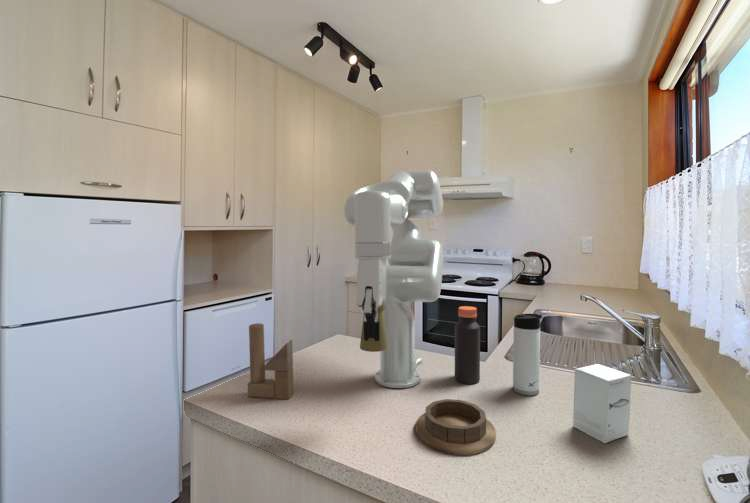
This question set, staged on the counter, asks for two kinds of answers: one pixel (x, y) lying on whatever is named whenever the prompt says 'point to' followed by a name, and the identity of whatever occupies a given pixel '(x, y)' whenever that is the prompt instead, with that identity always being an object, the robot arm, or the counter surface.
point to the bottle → (467, 346)
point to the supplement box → (602, 402)
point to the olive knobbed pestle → (382, 343)
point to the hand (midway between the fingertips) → (373, 336)
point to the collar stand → (455, 428)
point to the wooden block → (269, 368)
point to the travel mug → (526, 354)
